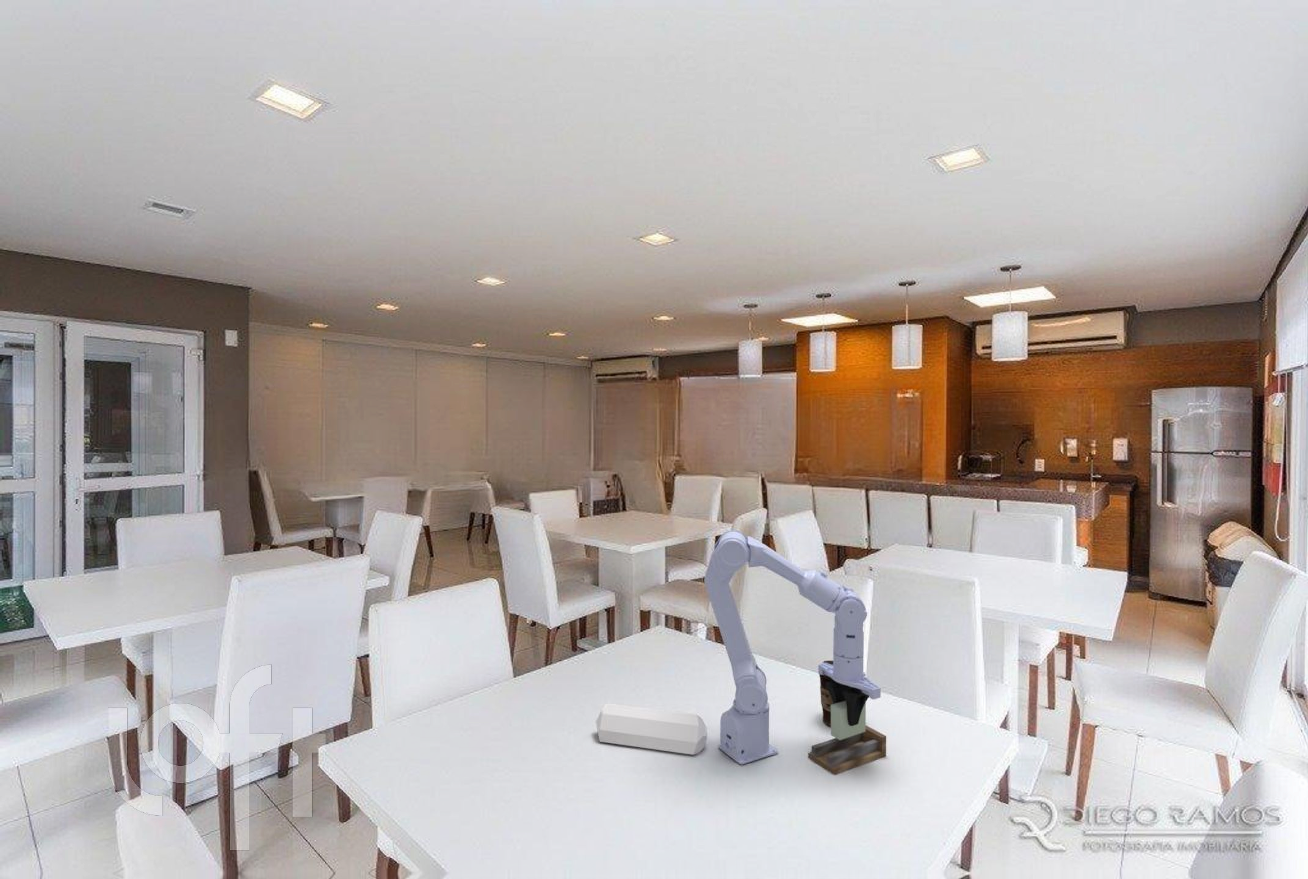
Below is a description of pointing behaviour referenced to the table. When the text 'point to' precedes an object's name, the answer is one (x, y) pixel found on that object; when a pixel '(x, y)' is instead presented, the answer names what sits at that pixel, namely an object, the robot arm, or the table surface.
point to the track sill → (849, 751)
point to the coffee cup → (826, 697)
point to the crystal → (652, 728)
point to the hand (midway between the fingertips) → (847, 721)
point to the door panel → (845, 722)
